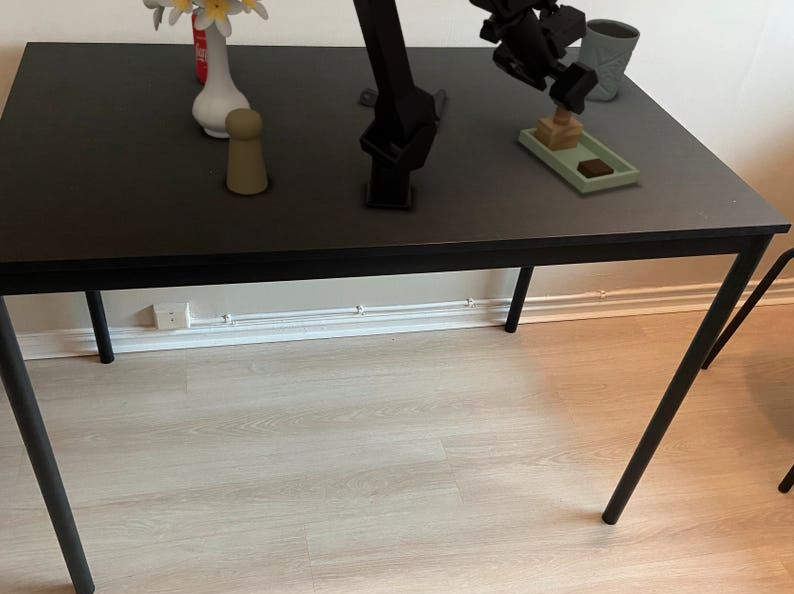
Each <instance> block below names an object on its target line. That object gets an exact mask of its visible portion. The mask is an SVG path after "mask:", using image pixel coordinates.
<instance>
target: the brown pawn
mask: <svg viewBox="0 0 794 594" xmlns="http://www.w3.org/2000/svg"><path fill="white" fill-rule="evenodd" d="M225 127H226V131H227V133H228V134H229V135H230V137H229V144H228V158H227V175H226V186H227V189H229V190H230V191H232V192H234V193H236V194H240V195H254V194H259V193H261V192H263V191H265V190H266V189H267V188H268V185H269V182H268V176H267V170H266V166H265V165H266V164H265V160H264V155H263V149H262V144H261V138H260V136H261V134H262V132H263V128H264V122H263V119H262V116H261V115H260V113H259V112H258V111H256V110H254V109H247V108H239V109H235V110H232V111H230V112H229V113H228V115H227V117H226V119H225Z"/></svg>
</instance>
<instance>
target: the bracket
mask: <svg viewBox="0 0 794 594" xmlns="http://www.w3.org/2000/svg"><path fill="white" fill-rule="evenodd" d="M432 95H433V97H434V100H435V110H436V114H437V116H438V117H439V119H441V116H442V112H443V108H444V104H445V100H446V97H447V90H445V89H444V88H440V89H439V90H438V91H437V93H434V94H432ZM366 96H367V97H368V98H367V97H366ZM377 97H378V90H374V89H373V88H370V87H365V88H364V89H362V91H361V93H360V95H359V100H360V102H361V104H363V105H366V106H370V107H374V105H375V102H376V99H377ZM436 124H437V128H438V127H439V124H440V120H439V121H436Z"/></svg>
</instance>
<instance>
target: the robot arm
mask: <svg viewBox="0 0 794 594" xmlns="http://www.w3.org/2000/svg"><path fill="white" fill-rule="evenodd" d="M558 1H559V0H468V2H469V3H470V4H471V5H472V6H474V7H476V8H479V9H481V10H483V11H486V12H488V13H490V15H489V17H488V18H484V19H483V21H482V26H481V28H480V30H479V34H478V37H479V39H481V40H484V41H486V42H488V43H491V44H493V45H497V47H496V48H495V49H494V50H493V53H492V57H491V58H492V59H491V60H492V62H493V63H494V64H495V66H496V67H497V68H499V69H500V70H502V71H503V72H504V73H505V74H507V75H509V76H510V77H512V78H514V79H516V80H518V81H520V82H522V83H524V84H526V85H528V86H529V87H531V88H533V89H536V90H538V91H540V92H542V93H544V92H545V90H546V89H548V84H547V81H546V79H545V78H546V77H549V78H550V79H552V80H553V81H554V82H553V83H552V84H551V85H550V88H549V92H548V97H549V98H550V99H551V100H552V102H553V104H554V105H556V107H557V106H559V107H561V108H562V109H564V110H566V111H570V112H572V114H573V113H574V114H576V115H578V116H581V115H582V114H583V113H584V111H585V109H586V108H585V107H586V105H585V101H586V100H585V98H586V97H587V96H586V95H587V94H588V93H589V92H590V91H591V90H592V89H593V88H594V87H595V86H596V85H597V84H598V83H599V77H598V75H597V73H596V71H595V70H594V69H592V68H590V67H589V66H587V65H585V64H583V63H581V62H580V61H578V62H577V61H573V62H572V63H570V64H571V65H570V66H569V67H567V65H565V64H563V62H560V61H559V60H563V58H564V57H565V56H566V55H567V54H568V51H567V49H566V48H568V47H569V46H571V45H573V44H574V43H576V42H577V41H579V40H580V39H581V40H582V38H584V37H585V36H586V34H587V30H586V22H587V17H586V13H585V12H584V11H583V10H580V9H578V8H576V7H573V6H572V5H566V4H563V3H561V4H559V5H558V4H557V2H558ZM352 2H353V5H354V6H353V7H354V10H355V14H356V17H357V20H358V23H359V28H360V31H361V35H362V38H363V42H364V45H365V49H366V52H367V55H368V60H369V64H370V66H371V70H372V74H373V77H374V81H375V84H376V88H377V92H378V97H377V99H376V102H375V105H374V106H373V114H374V118H373V120H372V121H371V122H370V124H369V125H368V126H367V127H366V129H365V130H364V132H363V133H362V134H361V136H360V137H359V139H358V140H359V145H360V149H361V151H363V153H364V152H365V153H367V154H368V155H369V156H371V166H370V168H371V169H370V181H367V184H366V197H365V199H366V201H365V206H366V207H369V208H383V209H397V210H410V209H411V208H412V189H411V186H412V185H410V184H411V183H410V182H411V176H412V175H411V173H412V172H413V171H417V170H419V169H423V168H424V166H425V163H426V161H427V159H428V156H429V154H430V152H431V150H432V149H431V148H432V146H433V144H434V141H435V138H436V136H437V132H438V127H437V124H436V121H439V122H440V119H441V118H440V119H439V117H438V116H437V114H436V110H435V100H434V97H433V95H434V94H432V93H430V92H429V91H426V90H425V89H423V88H422V87H419V86H417V85H415V82H414V77H413V72H412V68H411V63H410V59H409V54H408V51H407V46H406V42H405V37H404V31H403V28H402V23H401V20H400V15H399V11H398V6H397V1H396V0H352ZM535 11H538V12H539V15H538V16H537V14H536V12H535ZM499 43H500V44H499Z"/></svg>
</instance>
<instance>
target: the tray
mask: <svg viewBox="0 0 794 594" xmlns="http://www.w3.org/2000/svg"><path fill="white" fill-rule="evenodd" d="M536 131H537V127H532V128H526V129H521V130H520V131H519V136H518V142H520V144H522V145H523V146H524V147H526V148H527V149H528V150H529V151H530V152H532V153H533V154H534V155H535V156H537V157H538V158H539V159H541V160H542V162H543V163H545V164H546V165H548V166H549V167H550V168H551V169H553V170H554V171H556V173H558V174H559V175H560V176H561V177H562V178H563V179H565V180H566V181H567V182H568V183H570V184H571V185H572V186H574V187H575V188H576V189H577V190H578V191H579V192H580V193H582V194H585V193H590V192H594V191H599V190H604V189H605V190H606V189H608V188H609V189H610V188H614V187H619V186H620V187H621V186H624V185H630V184H635V183H637V182H638V179H639V176H640V173H641V170H639V169H637V167H635V166H633V164H631V163H629V162H628V161H626V160H625V159H623V158H622V157H621V156H620V155H618V154H616V152H614V151H613V150H611V149H610V148H608V147H607V146H606V145H604V144H603V143H602V142H601V141H599V140H598V139H596V138H595V137H593V136H592V135H591V134H590V133H588V132H586V130H584V129H582V133H581V134H580V137H579V140H578V144H577V147H576V148H570V149H564V150H558V151H551V150H550V149H548V148H547V147H546V146H545V145H543V144H542V143H541V142H539V141H538V140H537V139H536V138H535V135H536ZM597 158H599V159H601V160H602V161H603V162H605V163H606V164H607V165H609V166H610V167H611V168H613V169H614V173H613V174H611V175H605V176H600V177H595V178H590V179H587V178H586V177H585V176H584V175H582V174H581V173H580V172H578V171H577V167H578V164H579V162H581V161H586V160H592V159H597Z"/></svg>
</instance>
